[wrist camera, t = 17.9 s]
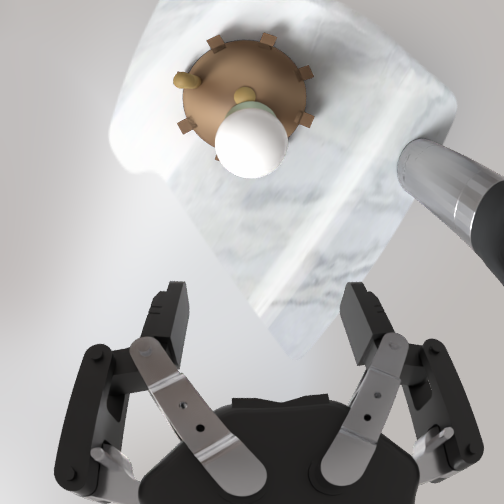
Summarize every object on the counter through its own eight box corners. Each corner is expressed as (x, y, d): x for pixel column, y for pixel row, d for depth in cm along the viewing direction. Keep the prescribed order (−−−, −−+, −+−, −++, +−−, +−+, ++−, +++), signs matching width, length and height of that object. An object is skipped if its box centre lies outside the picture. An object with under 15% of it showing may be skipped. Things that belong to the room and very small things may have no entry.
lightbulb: (283, 110, 29) (302, 121, 20) (270, 161, 32) (281, 195, 23) (227, 98, 28) (219, 103, 19) (217, 151, 31) (205, 180, 22)
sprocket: (202, 19, 24) (189, -3, 16) (332, 64, 28) (360, 58, 20) (160, 140, 32) (136, 156, 25) (283, 178, 36) (295, 205, 28)
